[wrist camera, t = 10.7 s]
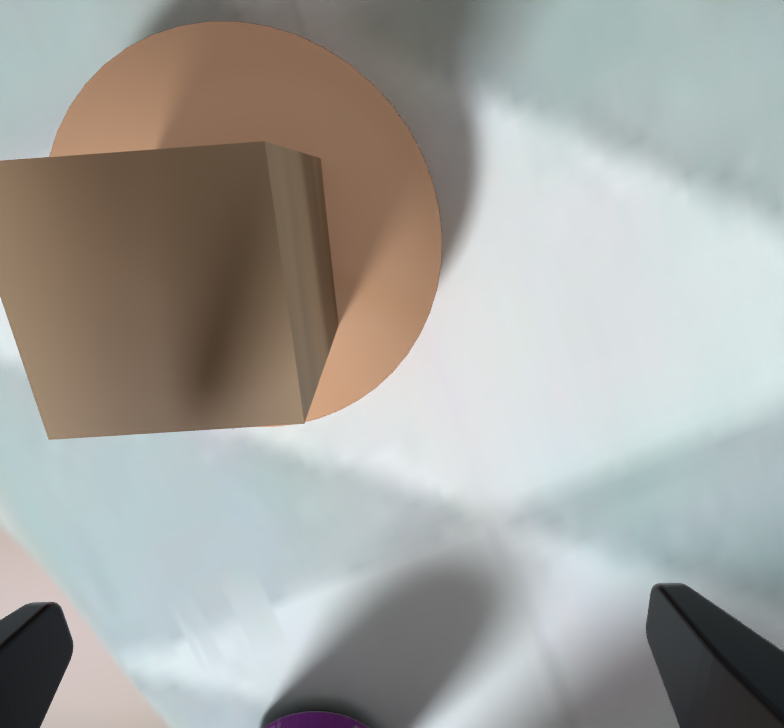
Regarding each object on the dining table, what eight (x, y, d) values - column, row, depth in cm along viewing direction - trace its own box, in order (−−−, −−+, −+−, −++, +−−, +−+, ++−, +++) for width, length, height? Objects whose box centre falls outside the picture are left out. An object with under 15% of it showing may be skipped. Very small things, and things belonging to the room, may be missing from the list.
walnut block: (320, 158, 15) (264, 141, 8) (338, 325, 16) (304, 423, 10) (149, 170, 15) (-45, 164, 8) (184, 335, 16) (48, 439, 10)
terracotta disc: (427, 34, 16) (435, 4, 13) (439, 383, 20) (447, 416, 17) (55, 62, 16) (-15, 37, 14) (142, 401, 20) (102, 436, 18)
